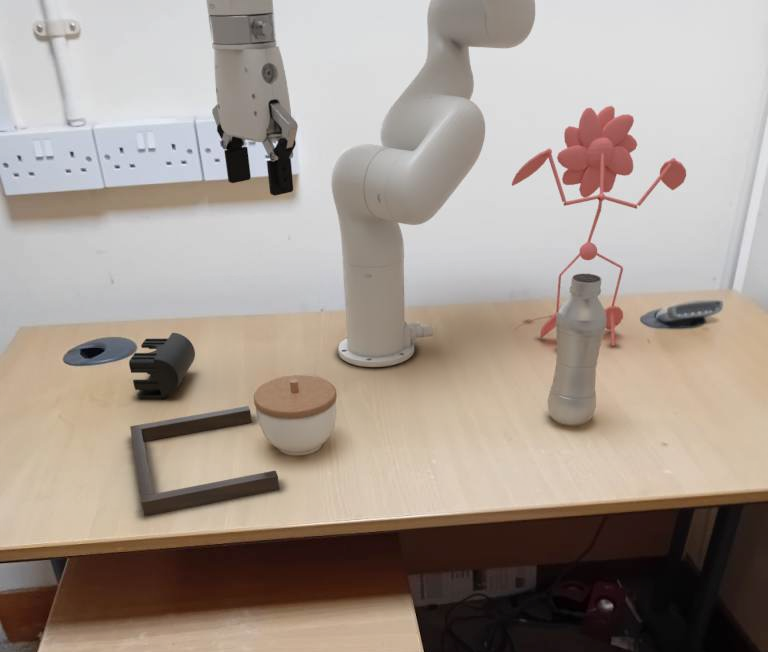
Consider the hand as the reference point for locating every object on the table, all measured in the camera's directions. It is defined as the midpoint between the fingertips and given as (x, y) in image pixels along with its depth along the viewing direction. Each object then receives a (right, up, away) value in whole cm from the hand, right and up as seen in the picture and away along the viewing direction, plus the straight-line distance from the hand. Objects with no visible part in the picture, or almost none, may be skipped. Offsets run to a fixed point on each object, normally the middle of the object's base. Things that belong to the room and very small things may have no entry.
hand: (260, 187), depth 102 cm
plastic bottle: (+42, -29, +8) cm, 52 cm away
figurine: (+49, -12, +33) cm, 60 cm away
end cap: (-17, -23, +21) cm, 35 cm away
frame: (-8, -36, +1) cm, 36 cm away
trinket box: (+5, -33, +5) cm, 34 cm away
